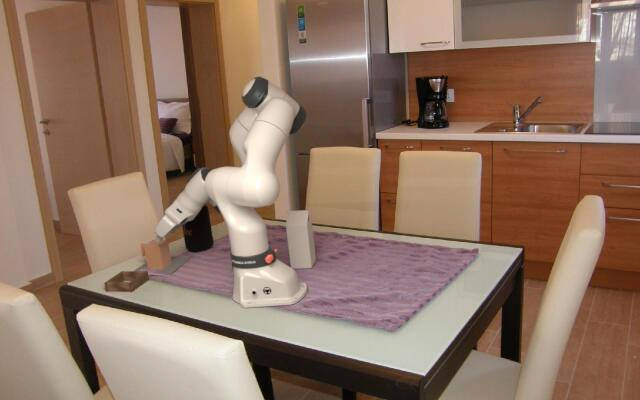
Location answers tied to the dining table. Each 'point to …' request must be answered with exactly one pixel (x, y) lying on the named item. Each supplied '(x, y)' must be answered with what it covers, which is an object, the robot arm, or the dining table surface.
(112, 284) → the tray
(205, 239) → the coffee jar
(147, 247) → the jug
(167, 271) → the mat
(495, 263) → the dining table surface
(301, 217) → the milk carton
